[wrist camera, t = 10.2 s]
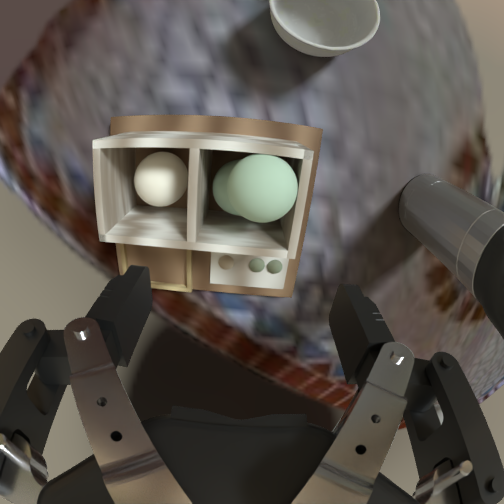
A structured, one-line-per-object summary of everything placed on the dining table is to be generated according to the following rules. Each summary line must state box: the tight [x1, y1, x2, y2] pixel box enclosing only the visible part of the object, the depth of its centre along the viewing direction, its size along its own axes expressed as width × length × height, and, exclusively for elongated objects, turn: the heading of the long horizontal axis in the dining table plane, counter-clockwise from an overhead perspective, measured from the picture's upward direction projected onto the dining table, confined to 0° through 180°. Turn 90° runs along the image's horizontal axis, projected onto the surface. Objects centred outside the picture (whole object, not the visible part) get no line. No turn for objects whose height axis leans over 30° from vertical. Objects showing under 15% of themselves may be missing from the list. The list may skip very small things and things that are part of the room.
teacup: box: [269, 0, 380, 57], centre depth 20 cm, size 14×11×8 cm
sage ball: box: [227, 153, 298, 223], centre depth 24 cm, size 6×6×6 cm
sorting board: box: [93, 115, 323, 297], centre depth 30 cm, size 25×23×10 cm
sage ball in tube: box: [213, 159, 242, 216], centre depth 29 cm, size 6×6×6 cm
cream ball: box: [134, 152, 188, 207], centre depth 29 cm, size 6×6×6 cm
